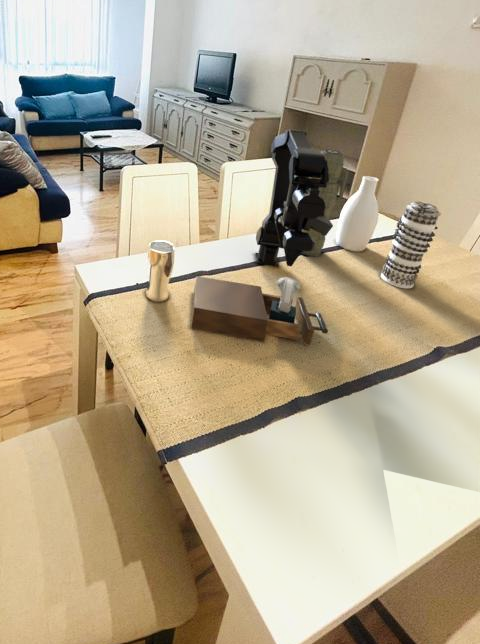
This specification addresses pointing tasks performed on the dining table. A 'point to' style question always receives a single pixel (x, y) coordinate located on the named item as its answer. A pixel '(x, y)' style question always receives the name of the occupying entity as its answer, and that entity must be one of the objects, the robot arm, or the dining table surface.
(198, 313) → the cabinet
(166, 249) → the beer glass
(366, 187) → the bottle
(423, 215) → the white and black cylinder
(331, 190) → the thermos
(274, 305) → the watch
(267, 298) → the drawer
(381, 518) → the dining table surface
